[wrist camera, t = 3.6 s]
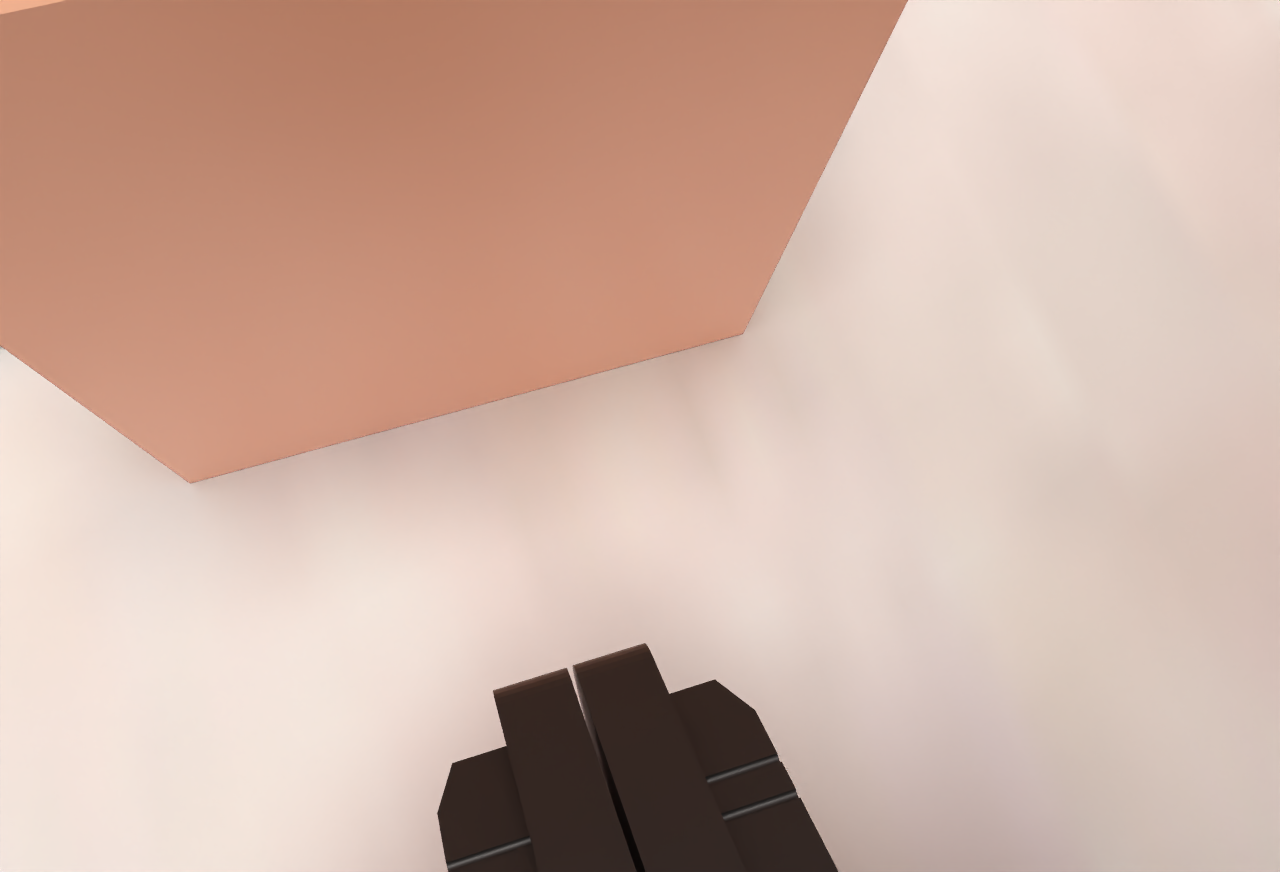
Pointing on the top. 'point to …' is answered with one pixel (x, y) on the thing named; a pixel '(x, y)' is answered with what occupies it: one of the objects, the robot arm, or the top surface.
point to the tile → (395, 199)
